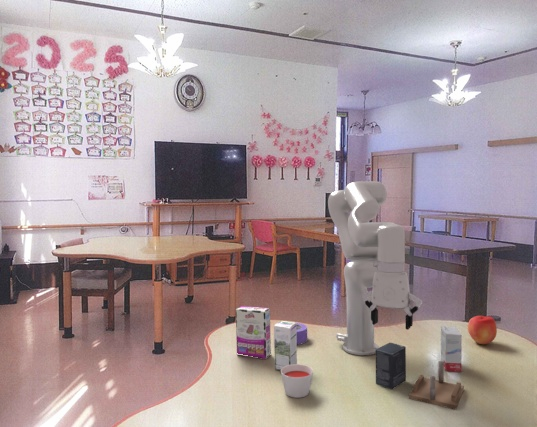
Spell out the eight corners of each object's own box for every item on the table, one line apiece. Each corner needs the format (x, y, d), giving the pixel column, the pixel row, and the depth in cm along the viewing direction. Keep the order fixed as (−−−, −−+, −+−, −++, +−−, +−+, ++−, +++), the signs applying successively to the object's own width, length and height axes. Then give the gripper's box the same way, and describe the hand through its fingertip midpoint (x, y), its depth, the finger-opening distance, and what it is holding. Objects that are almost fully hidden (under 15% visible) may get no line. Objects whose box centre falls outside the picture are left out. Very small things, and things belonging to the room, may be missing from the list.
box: (389, 375, 136) (389, 341, 135) (406, 381, 132) (406, 346, 131) (374, 384, 131) (374, 348, 130) (392, 390, 126) (392, 353, 126)
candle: (303, 403, 120) (303, 380, 120) (275, 395, 125) (274, 373, 124) (318, 389, 128) (318, 368, 127) (291, 382, 132) (290, 361, 132)
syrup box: (297, 365, 144) (297, 321, 143) (290, 373, 139) (290, 327, 138) (281, 363, 147) (280, 319, 146) (274, 370, 141) (273, 325, 141)
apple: (498, 341, 163) (498, 314, 163) (495, 349, 155) (495, 321, 155) (469, 337, 168) (469, 311, 168) (465, 344, 160) (465, 317, 160)
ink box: (461, 372, 137) (462, 335, 137) (445, 371, 138) (445, 334, 138) (456, 361, 146) (456, 326, 145) (440, 360, 147) (440, 325, 146)
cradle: (408, 398, 122) (408, 373, 121) (420, 380, 133) (420, 357, 132) (456, 409, 115) (456, 382, 115) (463, 389, 126) (464, 365, 126)
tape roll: (278, 334, 176) (278, 321, 175) (308, 335, 174) (308, 322, 174) (274, 344, 164) (274, 331, 164) (306, 346, 162) (306, 332, 162)
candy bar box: (271, 354, 154) (270, 307, 153) (266, 359, 150) (265, 311, 149) (242, 350, 159) (241, 305, 158) (236, 355, 154) (235, 308, 153)
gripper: (357, 267, 130) (358, 325, 131) (418, 272, 121) (418, 334, 122) (366, 263, 137) (367, 318, 137) (425, 267, 127) (425, 326, 128)
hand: (391, 325), depth 130 cm, fingers open, 9 cm apart
